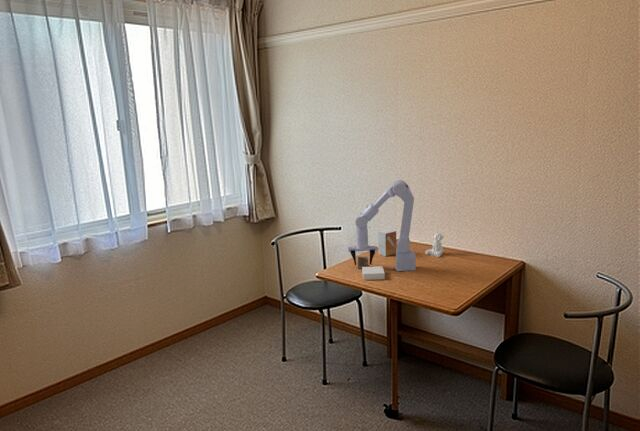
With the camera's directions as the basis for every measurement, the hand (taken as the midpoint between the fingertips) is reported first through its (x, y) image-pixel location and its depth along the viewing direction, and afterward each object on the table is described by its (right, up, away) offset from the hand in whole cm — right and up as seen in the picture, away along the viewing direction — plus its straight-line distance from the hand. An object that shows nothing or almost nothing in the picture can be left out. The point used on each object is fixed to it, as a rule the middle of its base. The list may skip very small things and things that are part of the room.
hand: (362, 264), depth 239 cm
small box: (+16, +3, +20) cm, 26 cm away
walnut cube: (0, -2, 0) cm, 2 cm away
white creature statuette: (+41, +4, +16) cm, 44 cm away
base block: (+4, -4, -12) cm, 14 cm away
